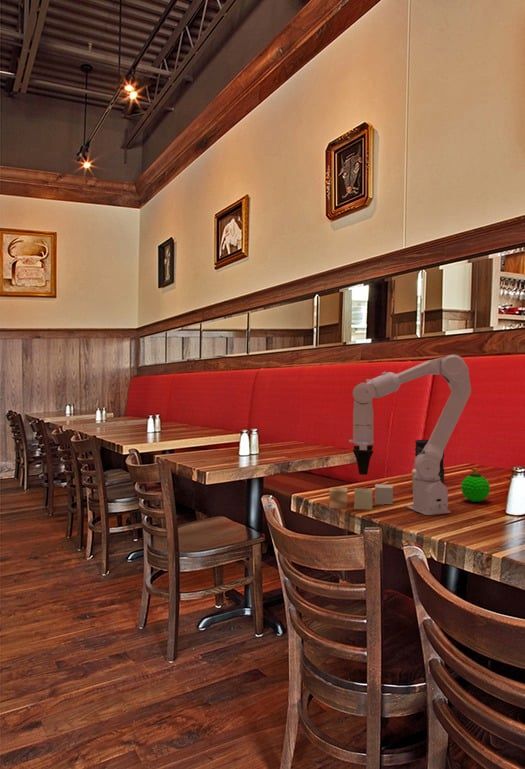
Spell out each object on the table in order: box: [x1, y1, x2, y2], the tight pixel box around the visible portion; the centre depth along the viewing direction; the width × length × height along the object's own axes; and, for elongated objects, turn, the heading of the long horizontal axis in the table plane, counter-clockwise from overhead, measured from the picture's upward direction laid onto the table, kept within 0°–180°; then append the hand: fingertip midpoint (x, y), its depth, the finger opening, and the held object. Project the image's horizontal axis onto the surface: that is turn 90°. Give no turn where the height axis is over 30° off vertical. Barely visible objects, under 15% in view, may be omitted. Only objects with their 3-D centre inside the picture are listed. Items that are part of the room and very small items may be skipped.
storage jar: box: [414, 439, 445, 485], centre depth 190 cm, size 10×10×15 cm
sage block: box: [353, 487, 373, 511], centre depth 156 cm, size 5×5×5 cm
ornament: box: [460, 467, 491, 503], centre depth 162 cm, size 8×8×10 cm
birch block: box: [328, 487, 349, 510], centre depth 157 cm, size 5×5×5 cm
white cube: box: [374, 483, 394, 505], centre depth 162 cm, size 5×5×5 cm
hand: (363, 472), depth 156 cm, fingers open, 7 cm apart
